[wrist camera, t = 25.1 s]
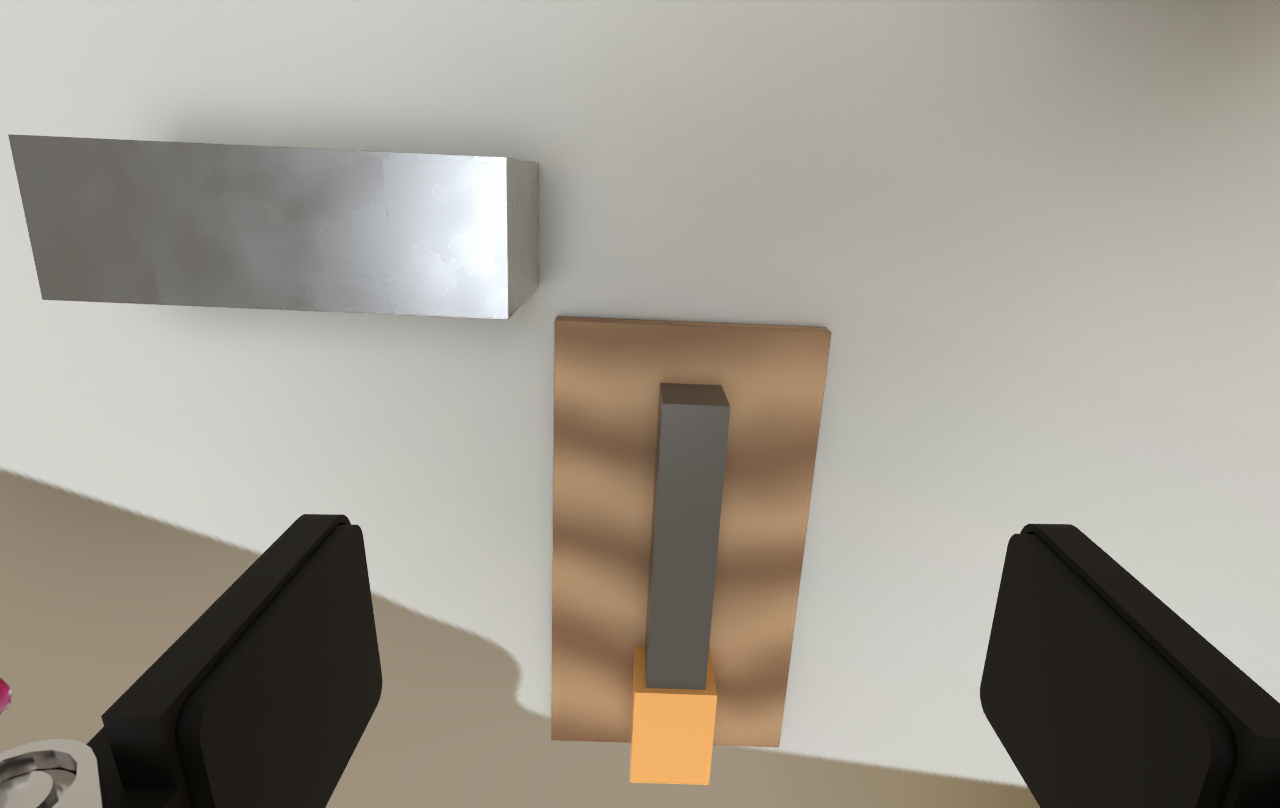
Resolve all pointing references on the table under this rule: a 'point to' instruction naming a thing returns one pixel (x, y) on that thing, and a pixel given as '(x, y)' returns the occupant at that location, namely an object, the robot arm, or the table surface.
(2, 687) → the power drill
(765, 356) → the pad
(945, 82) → the table surface
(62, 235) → the grey slotted block
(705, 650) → the grey and orange bar
